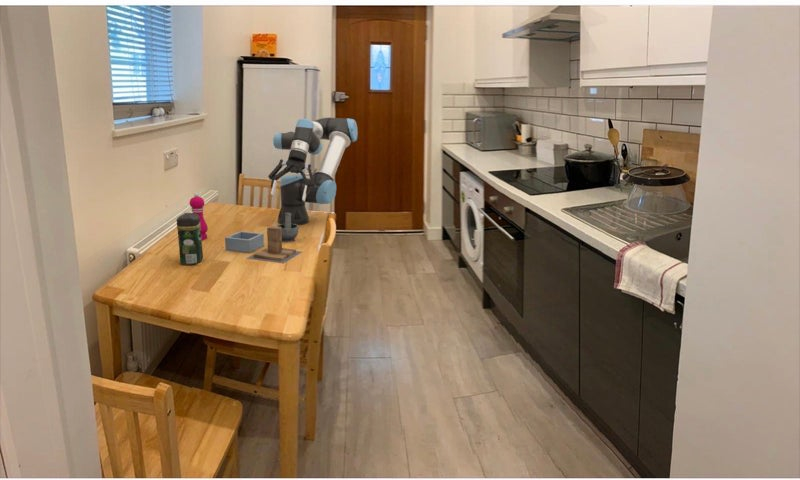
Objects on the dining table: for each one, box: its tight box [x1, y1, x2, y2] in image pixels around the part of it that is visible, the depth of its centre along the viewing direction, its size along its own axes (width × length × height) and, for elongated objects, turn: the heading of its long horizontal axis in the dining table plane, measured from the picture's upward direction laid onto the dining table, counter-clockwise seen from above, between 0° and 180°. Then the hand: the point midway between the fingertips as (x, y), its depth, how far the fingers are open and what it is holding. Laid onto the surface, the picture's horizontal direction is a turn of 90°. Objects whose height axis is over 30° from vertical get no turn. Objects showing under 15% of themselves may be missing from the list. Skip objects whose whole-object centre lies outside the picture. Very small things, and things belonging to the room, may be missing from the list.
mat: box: [246, 250, 303, 264], centre depth 215 cm, size 16×16×1 cm
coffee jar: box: [176, 212, 204, 266], centre depth 204 cm, size 10×8×19 cm
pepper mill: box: [189, 192, 209, 241], centre depth 234 cm, size 7×7×20 cm
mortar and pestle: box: [276, 213, 300, 243], centre depth 235 cm, size 11×9×12 cm
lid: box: [253, 225, 297, 261], centre depth 213 cm, size 12×12×11 cm
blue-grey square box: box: [224, 230, 265, 254], centre depth 222 cm, size 11×11×6 cm
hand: (287, 197), depth 233 cm, fingers open, 13 cm apart
